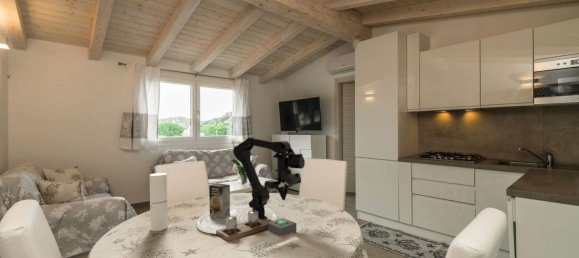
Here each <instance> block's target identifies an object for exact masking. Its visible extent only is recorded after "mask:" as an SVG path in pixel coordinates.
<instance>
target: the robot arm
mask: <svg viewBox="0 0 579 258" xmlns="http://www.w3.org/2000/svg"><path fill="white" fill-rule="evenodd" d="M254 147H259V148H263V149H268V150H271V151H272V152H274V153H275V154H274V155H273V156H272V158H274V159H276V163H277V164H276V169H275V172H276V173H277V174H276V176H277V177H275V180H273V179H268V180H265V182H264V186H263V185H262V183H261V181H260V178H259V176H258V175H257V174H258V173H257V172H256V169H255V168H254V165H253V162H252V160H251V155H252V154H251V151H252V150H253V148H254ZM232 153H233V155H234V156H235V159H236V160H237V161H239V162H240V163H241V165H242V168H243V170H244V173H245V174H246V178H247V180H248V182H249V185H250V186H251V197H252V199H251V200H250V201H249V202H248V207H249V208H250V209H252V210H256V211H258V220H259V219H260V220H264V219H267V218H268V217H267V216H266V211H265V210H266V209H265V206H266V205H267V204H268V202H269V200H270V196H271V195H270V191H269V189H271V190H275V189H276V190H277V192H278V194H279V196H280V198H281V200H282V201H286V197H287V195H288V191H289V190H290V188H291V187H293V186H294V185H298V184H301V183H302V179H301V174H300V173H299V172H296V173H292V170H291V169H300V170H301V169H302V170H303V168H305V165H306V164H305V162H306V161H305V157H304V156H303V153H296V152H295V151H294V150H293V148H292V147H291V144H290V142H289V141H287V140H277V141H276V140H268V139H263V138H259V137H255V136H250V137H247V138H245V140H244V141H242V142H240V143H238V145H235V146H234V147H233V150H232ZM252 210H251V211H252Z"/></svg>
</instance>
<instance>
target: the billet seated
mask: <svg viewBox="0 0 579 258" xmlns="http://www.w3.org/2000/svg"><path fill="white" fill-rule="evenodd" d="M237 220H238V219H237V216H235V215H228V216H226V217H225V228H226V234H227V235H231V234H234V233H237V224H238V223H237V222H238V221H237Z"/></svg>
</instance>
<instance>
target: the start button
mask: <svg viewBox="0 0 579 258" xmlns="http://www.w3.org/2000/svg"><path fill="white" fill-rule="evenodd" d="M277 224H278V225H280V226H282V225H285V224H286V221H284V220H280V221H278V222H277Z"/></svg>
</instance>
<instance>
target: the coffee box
mask: <svg viewBox="0 0 579 258" xmlns="http://www.w3.org/2000/svg"><path fill="white" fill-rule="evenodd" d="M208 186H209V187H208V188H209V189H208V190H209V193H208V194H209V195H208V197H209V216H210V217H216V218H221V219H223V218H226V217H229V216H231V185H230V184H227V183H219V182H217V183H212V184H209V185H208Z"/></svg>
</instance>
